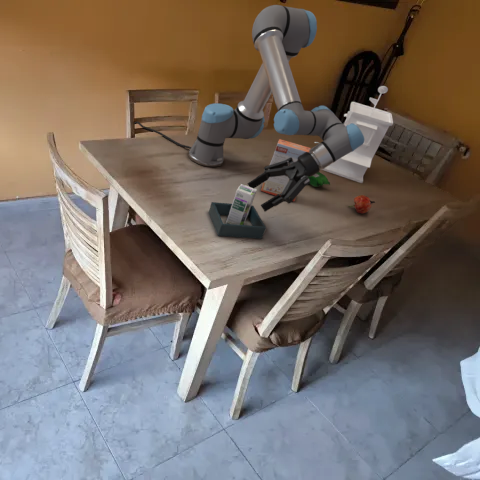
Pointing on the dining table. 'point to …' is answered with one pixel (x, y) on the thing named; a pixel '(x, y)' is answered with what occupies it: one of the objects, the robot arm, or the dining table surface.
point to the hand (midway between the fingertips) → (255, 197)
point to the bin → (235, 229)
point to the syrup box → (241, 205)
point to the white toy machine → (373, 131)
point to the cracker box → (281, 153)
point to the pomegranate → (362, 204)
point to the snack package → (318, 180)
